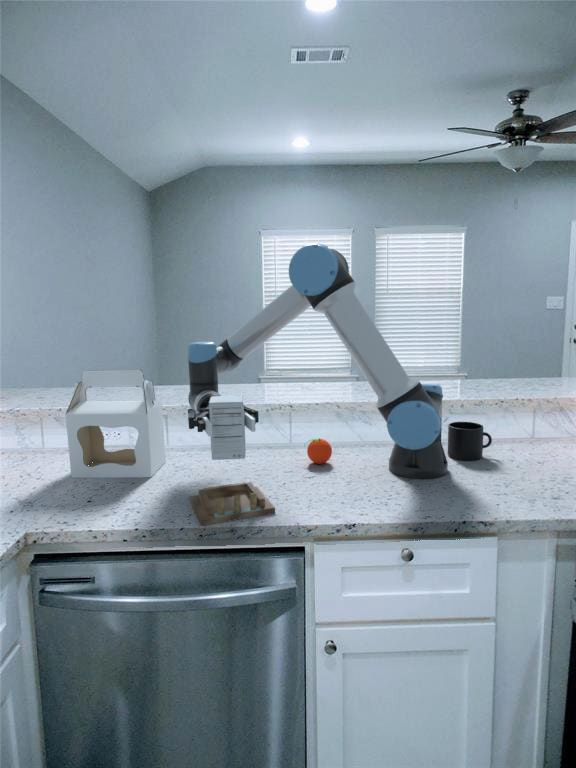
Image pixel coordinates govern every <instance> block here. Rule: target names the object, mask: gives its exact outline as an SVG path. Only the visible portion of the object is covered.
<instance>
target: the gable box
mask: <svg viewBox="0 0 576 768" xmlns="http://www.w3.org/2000/svg"><path fill="white" fill-rule="evenodd" d="M119 387H120V388H125V387H130V388H131V387H136V388H141V389H142V398H143V399H142V400H139V399H138V400H88V395H87V389H88V388H90V389H92V388H119ZM73 393H74V394H73V396H72V399H71V401H70V403H69V405H68V408H67V410H66V413H65V424H66V425H65V426H66V435H67V445H68V453H69V454H68V456H69V464H70V465H69V466H70V475H71V476H70V477H71V478H72V479H114V478H115V479H122V478H123V479H124V478H125V479H127V478H128V479H131V478H140V479H141V478H152V477H154V475H155V474H156V473H157V472H158V471H159V470H160V468H161V467H163V466H164V464H165V463H166V449H165V447H166V445H165V435H164V433H165V432H164V431H165V430H164V417H163V416H164V415H163V404H162V402H161V400H160V399H159V397H158V395H157V393H156V392H155V389H154V381H153V380H147V379H145V373H144V372H143V370H141V369H108V370H107V369H103V370H102V369H100V370H97V369H96V370H92V369H91V370H84V371H83V373H82V380H81V381H80V382H79V381H78V382H76V381H75V382H74V392H73ZM121 427H131V428H134V429H135V430H137V432H138V434H137V439H136V441H135V442H136V443H135V444H134V445H135V446H134V449H133V448H124V449H120V450H116V451H108V450H106V448H105V437H104V434H103V432H102V430H101V428H107V429H110V428H111V429H114V428H116V429H117V428H121ZM92 462H93V463H92ZM88 465H89V466H88Z"/></svg>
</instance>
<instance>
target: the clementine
mask: <svg viewBox="0 0 576 768" xmlns="http://www.w3.org/2000/svg"><path fill="white" fill-rule="evenodd" d="M308 442H310V443H309V444H308V446H307V450H306V453H307V456H308V458H309V460H310V461H311V462H312V463H315V464H318V465H322V464H325V463H327V462H328V461H329V460H330V459H331V457H332V455H333V453H332V452H333V450H332V446H331V444H330V443H329V442H328V441H327V440H326V439H324V438H323V439H322V438H312V439H310V440H308V441H307V443H308ZM305 445H306V444H304V447H305Z"/></svg>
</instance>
